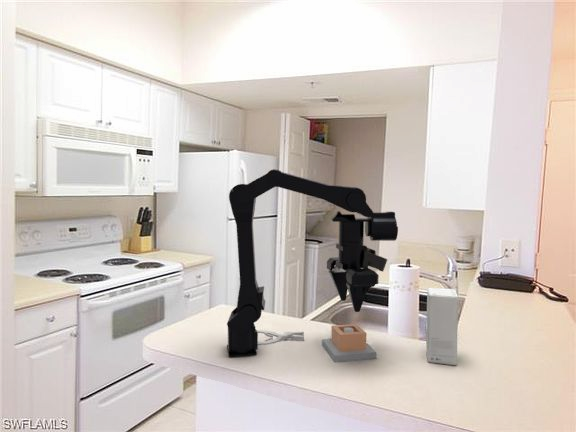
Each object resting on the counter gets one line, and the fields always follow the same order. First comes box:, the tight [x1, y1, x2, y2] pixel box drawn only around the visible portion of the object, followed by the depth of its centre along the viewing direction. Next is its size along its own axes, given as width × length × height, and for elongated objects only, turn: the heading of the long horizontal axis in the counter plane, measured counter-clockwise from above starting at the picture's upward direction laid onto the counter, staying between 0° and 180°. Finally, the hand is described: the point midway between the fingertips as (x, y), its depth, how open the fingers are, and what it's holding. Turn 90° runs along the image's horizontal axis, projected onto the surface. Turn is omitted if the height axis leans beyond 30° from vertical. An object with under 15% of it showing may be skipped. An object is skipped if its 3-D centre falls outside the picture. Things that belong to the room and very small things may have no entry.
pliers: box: [256, 329, 305, 346], centre depth 109 cm, size 10×2×15 cm
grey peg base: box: [321, 327, 378, 363], centre depth 100 cm, size 10×10×6 cm
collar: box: [330, 323, 367, 352], centre depth 100 cm, size 6×6×4 cm
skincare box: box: [426, 287, 459, 366], centre depth 97 cm, size 8×7×16 cm
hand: (350, 305), depth 99 cm, fingers open, 9 cm apart
